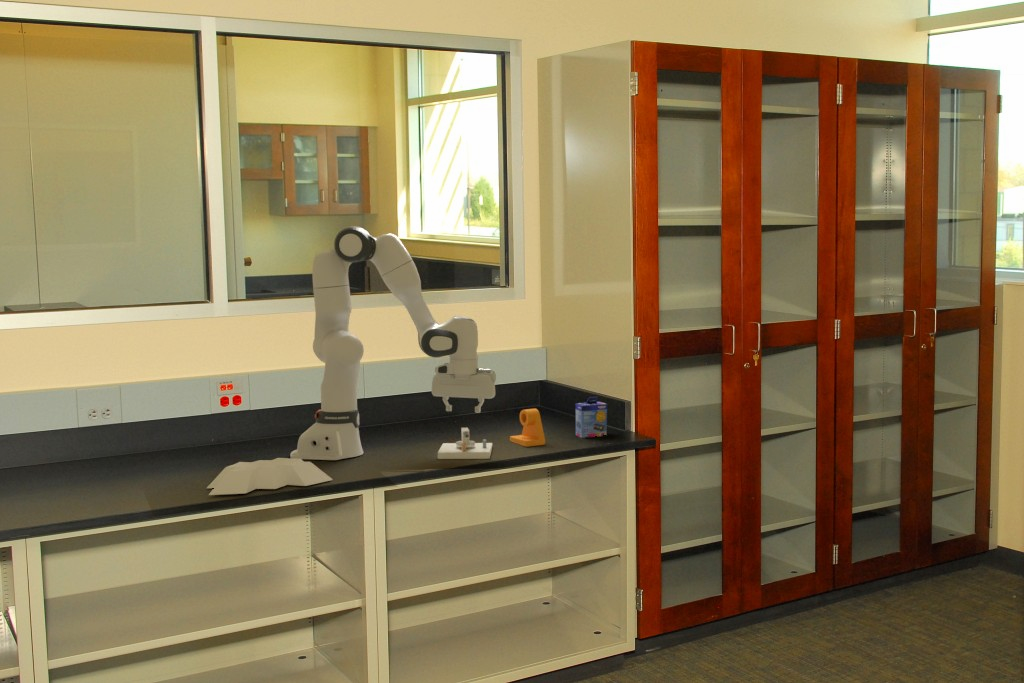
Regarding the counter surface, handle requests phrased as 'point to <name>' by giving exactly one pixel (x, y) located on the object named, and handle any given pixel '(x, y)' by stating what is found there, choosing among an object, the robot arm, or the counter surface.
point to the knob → (465, 439)
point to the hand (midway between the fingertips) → (463, 411)
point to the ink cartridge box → (591, 418)
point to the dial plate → (465, 451)
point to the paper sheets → (266, 476)
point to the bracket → (530, 429)
